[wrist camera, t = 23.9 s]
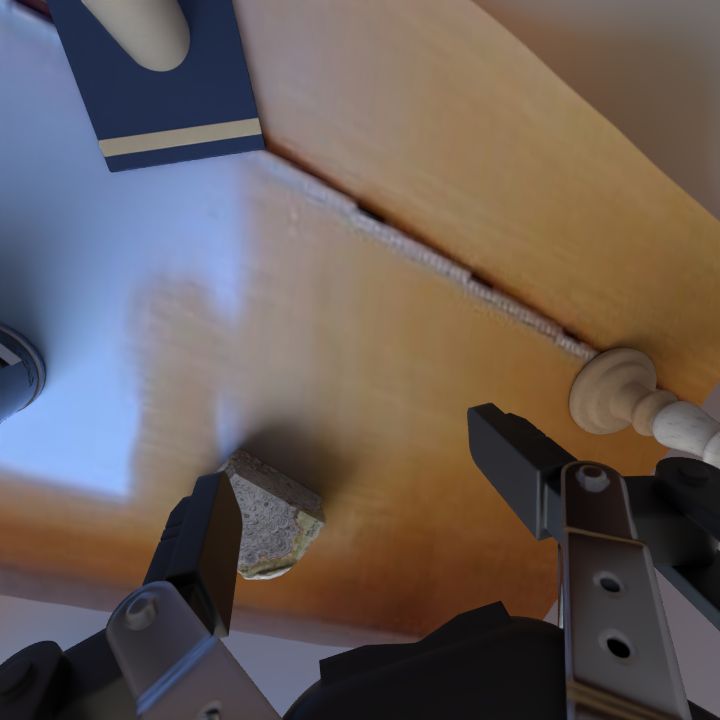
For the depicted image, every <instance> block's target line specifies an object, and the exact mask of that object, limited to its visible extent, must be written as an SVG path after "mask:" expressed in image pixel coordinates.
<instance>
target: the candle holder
mask: <svg viewBox="0 0 720 720" xmlns="http://www.w3.org/2000/svg"><path fill="white" fill-rule="evenodd" d="M656 379H657V377H656V370H655V367H654V364H653V363H652V361H651V360H650V359H649V357H648V356H647V355H645V354H644V353H642V352H640V351H638V350H635V349H631V348H616V349H612V350H609V351H606V352H604V353H602V354H600V355H598V356H597V357H595V358H594V359H593V360H591V361H590V362H589V363H588V364H587V365H586V366H585V367H584V368H583V369H582V371H581V372H580V373H579V375H578V376H577V378H576V380H575V382H574V384H573V386H572V389H571V393H570V399H569V408H570V412H571V415H572V417H573V419H574V421H575V422H576V423H577V424H578V425H579V426H580V427H581V428H582V429H584V430H586V431H588V432H590V433H594V434H609V433H614V432H616V431H619V430H621V429H623V428H625V427H627V426H628V425H630V424H631V423H632V424H633V427H634V429H635V430H636V431H637V432H638V433H639V434H641V435H644V436H653V435H654V437H655V439H656V440H657V441H658V442H659V443H660V444H662V445H664V446H666V447H669V448H673V449H677V450H681V451H685V452H688V453H691V454H694V455H696V456H699V457H701V458H703V462H706V463H708V464H711V465H713V466H715V467H717V468H719V469H720V423H719V422H717V421H715V420H714V419H713V418H711V417H710V416H709V415H708V414H707V413H705V412H704V411H703V410H702V409H701V408H699V407H698V406H697V405H695V404H693V403H690V402H685V401H680V402H678V399H677V397H676V396H675V395H674V394H673V393H671V392H669V391H665V390H659V391H655V388H656Z"/></svg>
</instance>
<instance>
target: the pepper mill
mask: <svg viewBox="0 0 720 720" xmlns="http://www.w3.org/2000/svg"><path fill="white" fill-rule="evenodd" d="M79 1H80V2H81V3H82V4H83V5H84V6H85V7H86V8H87V10H88V11H89V12H90V13H91V14H92V15H93V16H94V17H95V19H96V20H97V21H98V22H99V23H100V24H101V25H102V26H103V27H104V29H105V30H106V31H107V32H108V33H109V34H110V35H111V36H112V38H113V39H114V40H115V41H116V42H117V43H118V44H119V45H120V46H121V48H122V49H123V50H124V51H125V52H126V53H127V54H128V55H129V56H130V57H131V58H132V59H133V60H134V61H135V62H136V63H138V64H139V65H141V66H143V67H145V68H147V69H150V70H153V71H168V70H171V69H174V68H176V67H177V66H178V65H180V64H181V63H182V62H183V60H184V59H185V57H186V55H187V53H188V50H189V46H190V31H189V26H188V22H187V19H186V17H185V15H184V13H183V10H182V8H181V6H180V4H179V2H178V0H79Z"/></svg>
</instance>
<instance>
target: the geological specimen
mask: <svg viewBox="0 0 720 720" xmlns="http://www.w3.org/2000/svg"><path fill="white" fill-rule="evenodd" d="M223 470H224V471H226V473H227V475H228V477H229V480H230V482H231V485H232V488H233V491H234V493H235V496H236V499H237V501H238V504H239V507H240V510H241V514H242V522H243V530H242V538H241V545H240V553H239V560H238V568H237V572H239V573H241V574H242V576H243V577H244V578H245V579H247V580H248V579H271V578H274V577H277V576H280V575H282V574H283V573H285V572H287V571H288V570H289V569H290V568H291V567H292V566H293V565H295V564H296V563H297V562H298V561H299V560H300V558H301V557H302V556H303V555H304V554H305V552H306V551H307V549H308V547H309V546H310V545H311V544H312V541H313V540H314V539H315V538H316V537H317V536H318V534H319V533H320V531H321V530H322V528H323V527H324V526H325V523H326V517H325V515H324V513H323V510H322V508H319V502H321V501H322V497H321V496H319V495H317V494H316V493H314V492H312V491H311V490H309V489H307V488H305V487H303V486H302V485H301V484H299V483H298V482H296V481H294V480H293V479H291V478H289V477H288V476H286V475H284V474H282V473H281V472H279V471H277V470H276V469H274V468H272V467H270V466H269V465H267V464H265V463H264V462H262V461H260V460H259V459H257V458H255V457H254V456H252V455H250V454H248V453H247V452H245V451H243V450H240V449H237V450H235V451H234V452H233V453H232V454H231V455H230V456H229V459H227V460H226V461H225V462H224V463H223V464H222V466H221V467H220V468H219V469H218V470H217V471H216V472H219V471H223Z"/></svg>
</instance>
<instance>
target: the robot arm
mask: <svg viewBox="0 0 720 720" xmlns="http://www.w3.org/2000/svg"><path fill="white" fill-rule="evenodd" d="M44 382H45V370H44V365H43V362H42V360H41V358H40V356H39V354H38V352H37V351H36V350H35V348H34V347H33V346H32V345H31V344H30V343H29V342H28V341H27V340H26V339H25V338H24V337H23V336H21V335H20V334H19V333H17V332H16V331H14V330H12V329H10V328H8V327H7V326H4V325H2V324H0V423H1V422H3V421H4V420H6V419H7V418H9V417H10V416H11V415H13V414H14V413H16V412H18V411H20V410H22V409H24V408H25V407H27V406H28V405H29V404H31V403H32V402H33V401H34V400H35V399H36V398H37V397H38V396H39V394H40V393H41V391H42V389H43V386H44ZM467 418H468V432H469V446H470V452H471V455H472V458H473V460H474V462H475V464H476V465H477V467H478V468H479V469H480V470H481V471H482V473H483V474H484V475H485V476H486V478H487V479H488V480H489V481H490V483H491V484H492V485H493V486H494V487H495V489H496V490H497V491H498V492H499V494H500V495H501V496H502V497H503V498H504V500H505V501H506V502H507V503H508V505H509V506H510V507H511V508H512V509H513V511H514V512H515V513H516V514H517V516H518V517H519V518H520V519H521V520H522V522H523V523H524V524H525V525H526V527H527V528H528V529H529V530H530V532H531V533H532V534H533V535H534V536H535V538H536V539H537V540H538V541H539V540H543V539H546V538H549V537H552V536H553V537H554V538H555V539H556V541H557V542H558V626H556V625H554V624H551V623H548V622H545V621H542V620H539V619H534V618H529V617H521V616H509V614H508V612H507V611H506V609H505V607H504V605H503V604H502V602H501V601H498V602H495V603H492V604H489V605H486V606H483V607H480V608H477V609H474V610H471V611H468V612H465V613H462V614H459V615H457V616H456V617H454V618H453V619H451V620H450V621H448V622H447V623H446V624H444V625H443V626H441V627H440V628H438V629H437V630H435V631H434V632H433V633H431V634H430V635H428V636H427V637H425V638H424V639H423V640H421V641H419V642H416V643H408V644H381V645H365V646H362V647H359V648H356V649H353V650H350V651H347V652H343V653H340V654H338V655H334V656H331V657H328V658H326V659H322V660H320V661H319V663H320V675H321V679H320V680H319V681H317V682H316V683H314V684H313V685H312V686H311V687H310V688H308V689H307V690H306V691H305V692H304V693H303V694H302V695H301V696H300V697H299V698H298V699H297V700H296V701H295V702H294V703H293V704H292V706H291V707H290V709H289V710H288V711H287V712H286V714H285V715H284V716H283V717H282V718H281V717H280V715H279V714H278V713H277V712H276V710H275V709H274V708H273V706H272V705H271V704H270V703H269V701H268V700H267V699H266V697H265V696H264V695H263V694H262V692H261V691H260V690H259V688H258V687H257V686H256V685H255V683H254V682H253V681H252V679H251V678H250V677H249V676H248V674H247V673H246V672H245V670H244V669H243V668H242V667H241V666H240V664H239V663H238V661H237V660H236V659H235V658H234V656H233V655H232V654H231V652H230V651H229V650H228V649H227V647H226V646H225V645H224V643H223V642H222V641H221V640H220V638H223V637H226V636H229V628H230V620H231V613H232V605H233V598H234V590H235V583H236V575H237V568H238V560H239V553H240V545H241V538H242V530H243V522H242V514H241V510H240V507H239V504H238V501H237V499H236V496H235V493H234V491H233V488H232V485H231V482H230V480H229V477H228V475H227V473H226V471H224V470H223V471H219V472H215V473H211V474H207V475H203V476H200V477H198V479H197V482H196V485H195V488H194V490H193V493H192V496H189V497H185V498H183V499H182V500H181V501H180V502H179V503H178V505H177V506H176V507H175V508H174V509H173V510H172V512H171V513H170V516H169V519H168V521H167V524H166V526H165V528H166V529H165V530H164V531H163V534H162V536H161V542H159V544H158V547H157V549H156V552H155V554H154V557H153V559H152V562H151V564H150V567H149V569H148V572H147V575H146V577H145V580H144V582H143V585H142V587H140V588H139V589H137V590H135V591H134V592H133V593H131V594H130V595H129V596H127V597H126V598H125V599H124V600H123V601H122V602H121V603H120V604H119V605H118V607H117V608H116V609H115V610H114V612H113V613H112V615H111V617H110V619H109V621H108V623H107V626H106V628H105V629H103V630H101V631H100V632H98V633H96V634H94V635H93V636H91V637H89V638H87V639H85V640H84V641H82V642H80V643H78V644H76V645H75V646H73V647H71V648H69V649H68V650H66V651H64V652H63V651H62V649H61V648H60V647H59V645H58V644H57V643H56V642H53V641H41V642H38V643H35V644H32V645H30V646H28V647H26V648H24V649H22V650H21V651H19V652H17V653H16V654H14V655H13V656H11V657H10V658H9V659H7V660H6V661H5V662H4V663H3V664H1V665H0V720H720V718H719V717H717V716H716V715H714V714H712V713H710V712H708V711H707V710H705V709H703V708H701V707H700V706H698V705H696V704H695V703H693V702H691V701H689V700H688V699H687V698H686V693H685V690H684V686H683V682H682V677H681V674H680V669H679V665H678V661H677V657H676V653H675V649H674V646H673V642H672V638H671V634H670V630H669V626H668V622H667V618H666V614H665V610H664V606H663V602H662V598H661V594H660V590H659V586H658V582H657V578H656V574H655V570H654V567H655V568H656V569H657V570H658V571H659V572H660V573H661V574H662V575H663V576H664V577H665V578H666V579H667V580H668V581H669V582H670V583H672V585H673V586H675V588H676V589H678V591H680V593H681V594H682V595H684V596H685V597H686V598H687V599H688V600H689V601H690V602H691V603H692V604H693V605H694V606H695V607H696V608H697V609H698V610H699V611H700V612H701V613H702V614H703V615H704V616H705V617H706V618H707V619H708V620H709V621H710V622H711V623H712V624H713V625H714V626H715V627H716V628H717V629H718V630H719V631H720V551H719V550H718V545H719V542H720V469H719V468H717V467H715V466H713V465H711V464H708V463H706V462H703V461H699V460H696V459H691V458H684V457H670V458H666V459H663V460H661V461H659V462H658V463H657V465H656V471H655V476H621V475H620V474H619V473H618V472H617V471H616V470H614V469H612V468H611V467H609V466H607V465H604V464H601V463H597V462H593V461H578V460H577V459H576V458H575V457H573V456H572V455H571V454H569V453H568V452H567V451H566V450H564V449H563V448H562V447H561V446H559V445H558V444H557V443H555V442H554V441H553V440H552V439H550V438H549V437H546V435H545V434H544V433H543V432H541V431H540V430H539V429H537V428H536V427H535V426H534V425H533V424H531V423H530V422H529V421H528V420H526V419H524V418H522V417H519V416H517V415H514V414H512V413H508V414H505V413H504V412H502V411H501V410H500V409H499V408H498V407H496V406H495V405H494V404H493V403H487V404H483V405H479V406H475V407H471V408H469V409H468V412H467Z"/></svg>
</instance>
